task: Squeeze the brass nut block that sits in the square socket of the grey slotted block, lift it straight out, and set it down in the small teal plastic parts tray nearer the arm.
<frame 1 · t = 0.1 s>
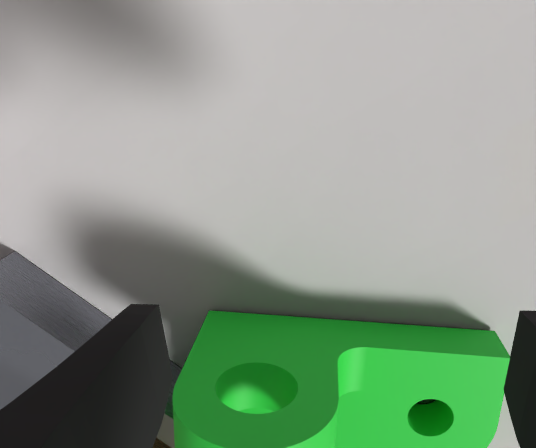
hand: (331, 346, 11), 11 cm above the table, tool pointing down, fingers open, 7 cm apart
mechanical part: (343, 377, 23), on the table, touching grey slotted block
grey slotted block: (95, 403, 25), on the table
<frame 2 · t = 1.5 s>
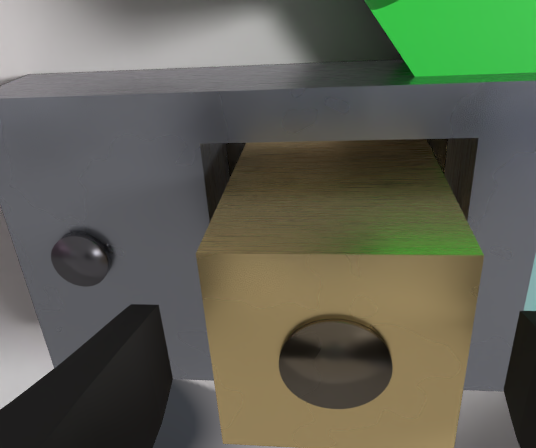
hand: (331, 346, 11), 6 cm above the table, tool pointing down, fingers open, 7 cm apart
nut block: (334, 208, 16), resting in grey slotted block
grey slotted block: (271, 209, 16), on the table
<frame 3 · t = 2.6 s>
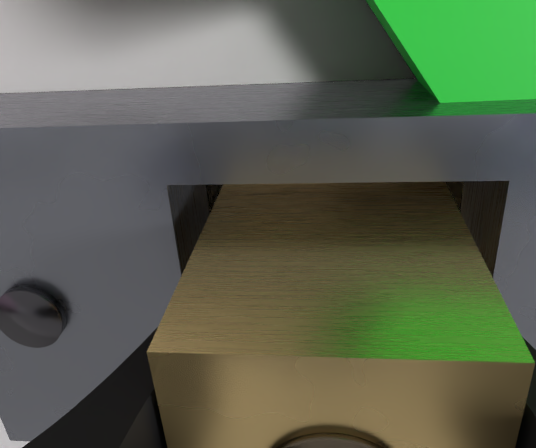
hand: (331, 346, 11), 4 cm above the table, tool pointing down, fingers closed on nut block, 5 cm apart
nut block: (331, 249, 14), resting in grey slotted block, touching gripper
grey slotted block: (258, 249, 14), on the table
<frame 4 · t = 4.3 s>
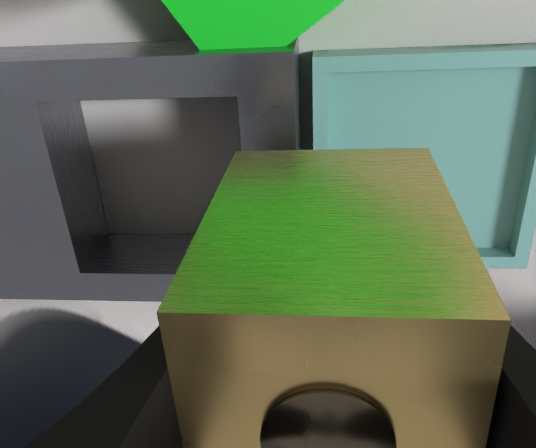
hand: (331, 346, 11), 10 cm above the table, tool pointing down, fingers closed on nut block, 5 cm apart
nut block: (330, 233, 15), point 6 cm above the table, touching gripper
parts tray: (422, 159, 19), on the table
grey slotted block: (123, 162, 20), on the table
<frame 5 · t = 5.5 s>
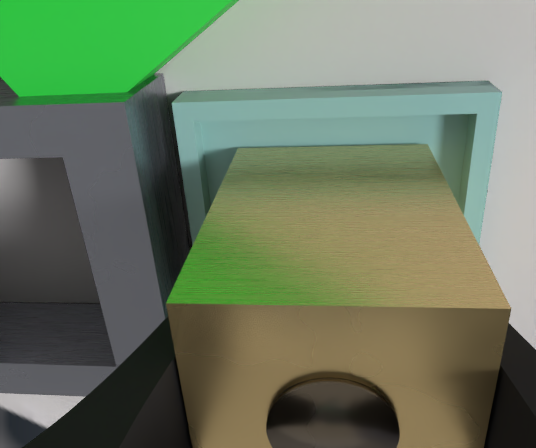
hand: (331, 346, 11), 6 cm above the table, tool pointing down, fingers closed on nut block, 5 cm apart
nut block: (330, 228, 15), point 1 cm above the table, touching gripper
parts tray: (330, 220, 15), on the table
when the fingers open (6 cm above the table, at t = 6.3 s): nut block stays where it is, resting on parts tray.
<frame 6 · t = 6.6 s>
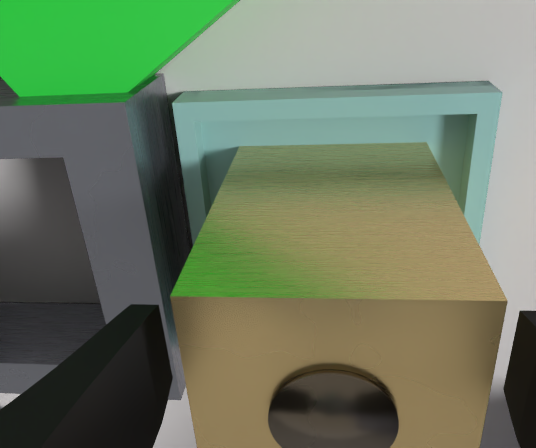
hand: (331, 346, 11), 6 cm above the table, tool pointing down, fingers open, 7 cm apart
nut block: (331, 226, 15), resting on parts tray
parts tray: (331, 220, 15), on the table
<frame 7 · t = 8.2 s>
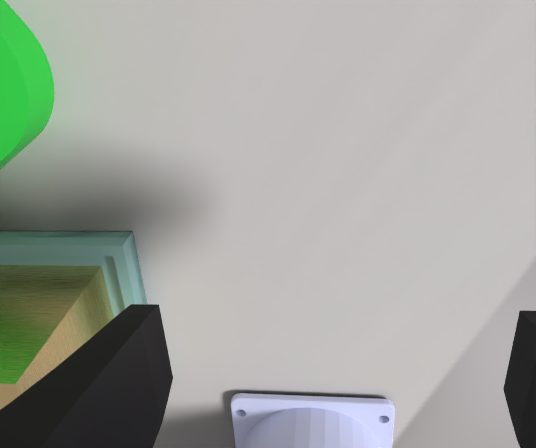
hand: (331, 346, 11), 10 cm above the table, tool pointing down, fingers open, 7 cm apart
nut block: (61, 310, 24), resting on parts tray
parts tray: (66, 305, 24), on the table
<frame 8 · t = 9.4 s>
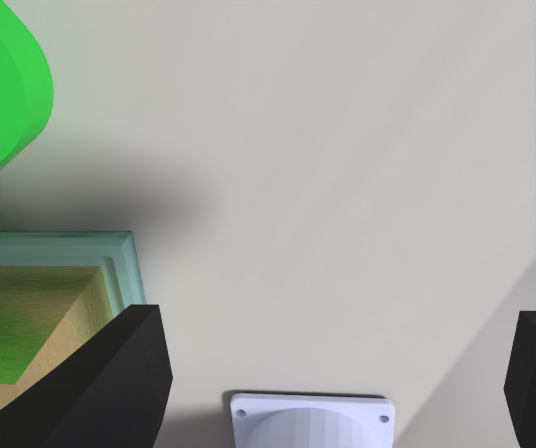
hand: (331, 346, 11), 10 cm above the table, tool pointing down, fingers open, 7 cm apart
nut block: (60, 311, 24), resting on parts tray
parts tray: (66, 306, 24), on the table
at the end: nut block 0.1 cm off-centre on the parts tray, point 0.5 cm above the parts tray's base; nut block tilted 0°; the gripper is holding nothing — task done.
